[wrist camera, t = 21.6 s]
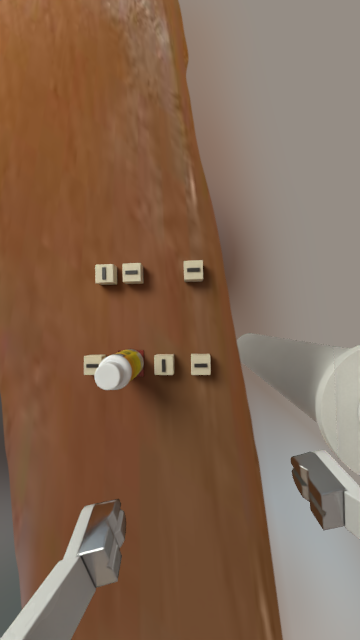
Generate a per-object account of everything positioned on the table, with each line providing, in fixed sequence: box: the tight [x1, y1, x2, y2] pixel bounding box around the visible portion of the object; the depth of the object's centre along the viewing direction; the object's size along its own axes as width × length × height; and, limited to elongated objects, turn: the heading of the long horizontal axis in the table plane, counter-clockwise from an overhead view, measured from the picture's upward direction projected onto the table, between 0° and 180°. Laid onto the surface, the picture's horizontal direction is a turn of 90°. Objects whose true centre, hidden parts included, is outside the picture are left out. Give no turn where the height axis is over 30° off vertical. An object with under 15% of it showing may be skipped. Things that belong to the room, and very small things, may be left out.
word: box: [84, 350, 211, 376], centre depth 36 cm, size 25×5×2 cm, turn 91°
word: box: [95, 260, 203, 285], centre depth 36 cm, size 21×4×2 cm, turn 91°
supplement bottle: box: [95, 349, 144, 390], centre depth 32 cm, size 6×6×10 cm
